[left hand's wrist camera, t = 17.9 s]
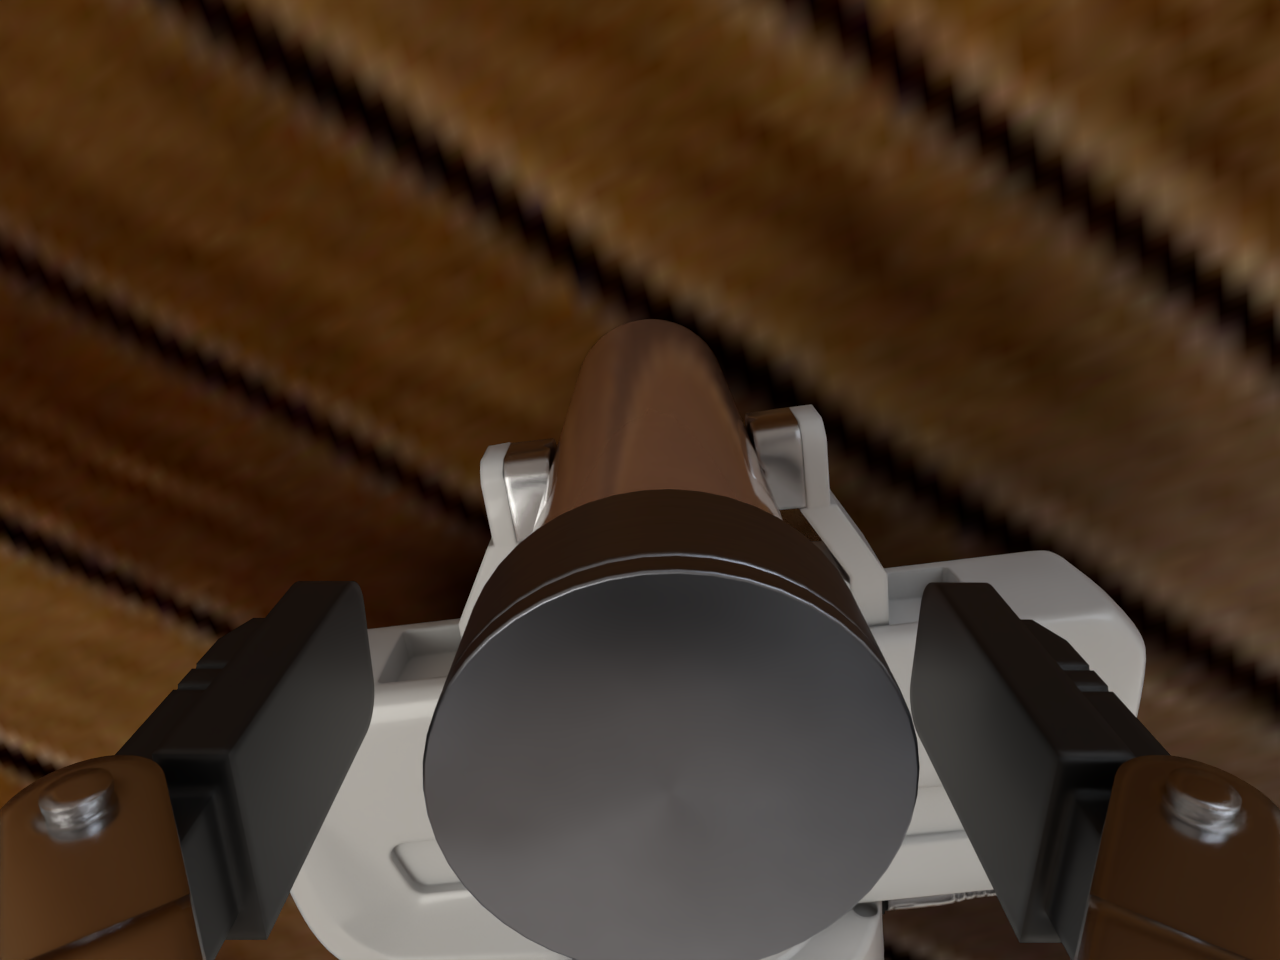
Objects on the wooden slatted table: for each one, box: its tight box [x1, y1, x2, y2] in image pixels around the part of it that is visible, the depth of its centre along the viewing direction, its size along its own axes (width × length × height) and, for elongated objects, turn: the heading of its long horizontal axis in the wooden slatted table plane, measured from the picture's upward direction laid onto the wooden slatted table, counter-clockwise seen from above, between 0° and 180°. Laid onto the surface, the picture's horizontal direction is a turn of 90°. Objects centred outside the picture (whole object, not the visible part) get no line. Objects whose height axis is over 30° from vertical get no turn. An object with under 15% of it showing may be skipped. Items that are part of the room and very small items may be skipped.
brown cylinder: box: [531, 319, 784, 534], centre depth 17 cm, size 4×4×16 cm
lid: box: [423, 489, 920, 960], centre depth 10 cm, size 5×5×2 cm
